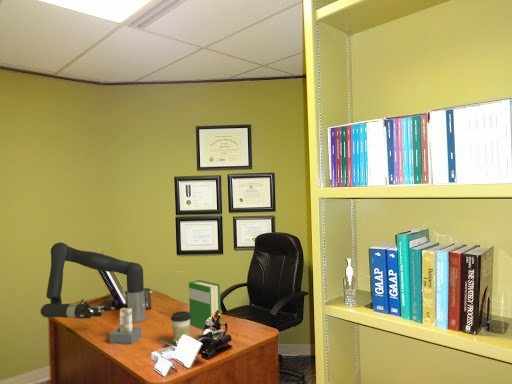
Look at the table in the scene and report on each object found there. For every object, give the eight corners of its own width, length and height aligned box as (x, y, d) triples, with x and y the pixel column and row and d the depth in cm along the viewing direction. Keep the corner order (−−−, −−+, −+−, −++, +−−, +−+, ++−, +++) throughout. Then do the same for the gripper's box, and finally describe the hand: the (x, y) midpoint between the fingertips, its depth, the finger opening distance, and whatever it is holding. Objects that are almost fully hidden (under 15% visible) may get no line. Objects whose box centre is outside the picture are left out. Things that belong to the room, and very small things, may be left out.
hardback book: (221, 328, 206) (219, 284, 206) (210, 332, 201) (209, 287, 201) (200, 321, 218) (199, 279, 218) (190, 324, 213) (188, 282, 212)
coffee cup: (191, 348, 181) (190, 317, 181) (170, 349, 181) (169, 318, 180) (192, 339, 191) (191, 310, 191) (173, 341, 190) (172, 311, 190)
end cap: (109, 343, 190) (109, 333, 190) (120, 335, 200) (120, 326, 200) (131, 344, 187) (131, 334, 187) (141, 336, 197) (141, 327, 197)
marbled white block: (120, 339, 192) (119, 309, 192) (123, 336, 195) (122, 308, 195) (129, 339, 191) (128, 310, 191) (132, 337, 194) (131, 308, 194)
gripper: (68, 308, 192) (97, 308, 189) (86, 299, 206) (113, 300, 203) (69, 322, 192) (98, 323, 189) (87, 313, 206) (114, 314, 203)
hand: (106, 311), depth 196 cm, fingers open, 8 cm apart
